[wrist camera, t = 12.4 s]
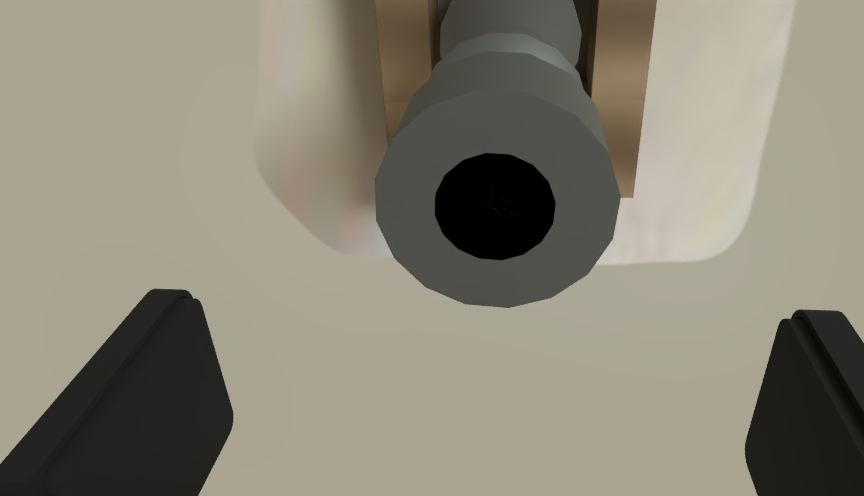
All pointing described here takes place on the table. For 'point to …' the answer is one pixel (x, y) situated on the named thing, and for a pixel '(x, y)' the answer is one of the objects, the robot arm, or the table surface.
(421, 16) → the holder board
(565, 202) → the candle holder
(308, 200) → the table surface
